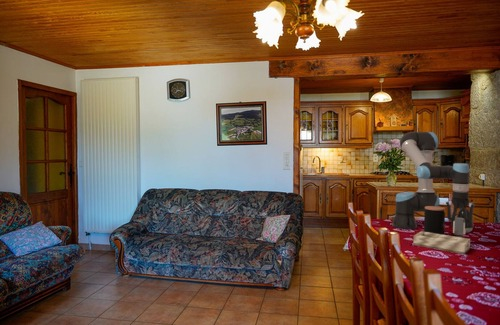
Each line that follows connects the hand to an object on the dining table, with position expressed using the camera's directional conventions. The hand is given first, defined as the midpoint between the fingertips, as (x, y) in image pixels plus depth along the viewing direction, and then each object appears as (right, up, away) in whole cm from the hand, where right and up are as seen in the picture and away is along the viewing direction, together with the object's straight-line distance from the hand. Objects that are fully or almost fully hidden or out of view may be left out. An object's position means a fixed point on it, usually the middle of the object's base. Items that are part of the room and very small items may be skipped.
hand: (459, 233), depth 183 cm
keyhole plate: (-13, -6, -4) cm, 15 cm away
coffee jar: (-6, -6, +14) cm, 17 cm away
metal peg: (0, -6, 0) cm, 6 cm away
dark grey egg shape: (+21, -5, +28) cm, 36 cm away
